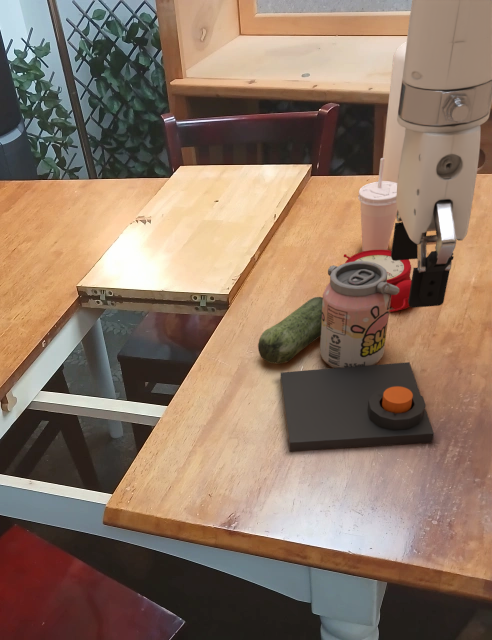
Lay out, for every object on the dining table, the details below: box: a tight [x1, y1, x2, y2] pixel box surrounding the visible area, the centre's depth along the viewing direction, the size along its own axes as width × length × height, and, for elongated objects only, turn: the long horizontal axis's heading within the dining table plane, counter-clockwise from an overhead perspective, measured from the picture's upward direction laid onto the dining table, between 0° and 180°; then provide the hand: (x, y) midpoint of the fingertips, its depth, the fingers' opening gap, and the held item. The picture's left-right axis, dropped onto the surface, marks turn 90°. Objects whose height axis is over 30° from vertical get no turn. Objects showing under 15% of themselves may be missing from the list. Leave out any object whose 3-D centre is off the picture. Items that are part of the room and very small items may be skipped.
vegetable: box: [257, 296, 323, 365], centre depth 99 cm, size 14×5×5 cm, turn 133°
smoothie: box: [357, 157, 398, 252], centre depth 110 cm, size 6×6×14 cm
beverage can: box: [319, 261, 399, 368], centre depth 93 cm, size 9×8×12 cm
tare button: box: [382, 386, 413, 413], centre depth 85 cm, size 3×3×2 cm
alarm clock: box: [343, 249, 412, 313], centre depth 105 cm, size 10×6×15 cm
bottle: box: [382, 16, 410, 216], centre depth 115 cm, size 8×8×28 cm
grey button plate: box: [279, 361, 435, 452], centre depth 89 cm, size 16×14×3 cm
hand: (415, 280), depth 75 cm, fingers open, 9 cm apart
